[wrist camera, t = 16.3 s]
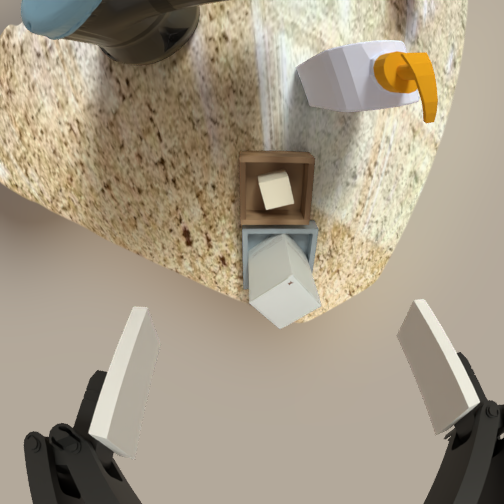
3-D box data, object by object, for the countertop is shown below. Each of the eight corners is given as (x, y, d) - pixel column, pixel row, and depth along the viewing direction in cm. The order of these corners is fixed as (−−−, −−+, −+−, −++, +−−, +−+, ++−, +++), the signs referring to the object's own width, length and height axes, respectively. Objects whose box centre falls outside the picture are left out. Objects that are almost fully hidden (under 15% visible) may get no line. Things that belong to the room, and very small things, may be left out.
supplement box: (246, 250, 46) (246, 302, 35) (282, 225, 43) (294, 273, 33) (272, 277, 49) (279, 331, 38) (307, 255, 46) (323, 306, 36)
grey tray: (243, 278, 50) (243, 289, 47) (242, 220, 43) (242, 229, 41) (306, 277, 50) (309, 287, 47) (314, 220, 43) (318, 228, 41)
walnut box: (241, 213, 43) (240, 224, 39) (240, 150, 37) (239, 156, 34) (304, 213, 43) (309, 224, 39) (308, 152, 37) (315, 158, 34)
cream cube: (264, 199, 41) (266, 210, 37) (257, 175, 39) (258, 183, 35) (290, 193, 40) (294, 203, 37) (284, 168, 38) (288, 176, 35)
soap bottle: (310, 111, 34) (384, 133, 15) (294, 67, 31) (355, 32, 11) (365, 98, 33) (474, 118, 13) (352, 55, 29) (455, 33, 10)
